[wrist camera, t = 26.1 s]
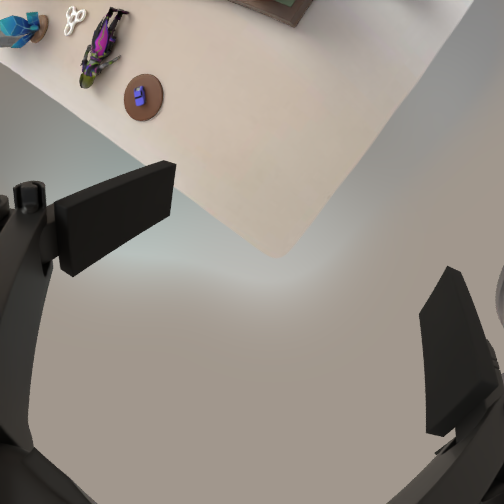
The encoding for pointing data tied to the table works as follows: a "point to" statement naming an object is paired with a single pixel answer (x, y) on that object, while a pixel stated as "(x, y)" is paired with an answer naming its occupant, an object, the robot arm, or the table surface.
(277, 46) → the table surface
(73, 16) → the fidget spinner
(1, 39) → the cassette player
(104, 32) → the character figure
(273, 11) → the brown slab
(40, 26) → the gemstone
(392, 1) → the table surface
